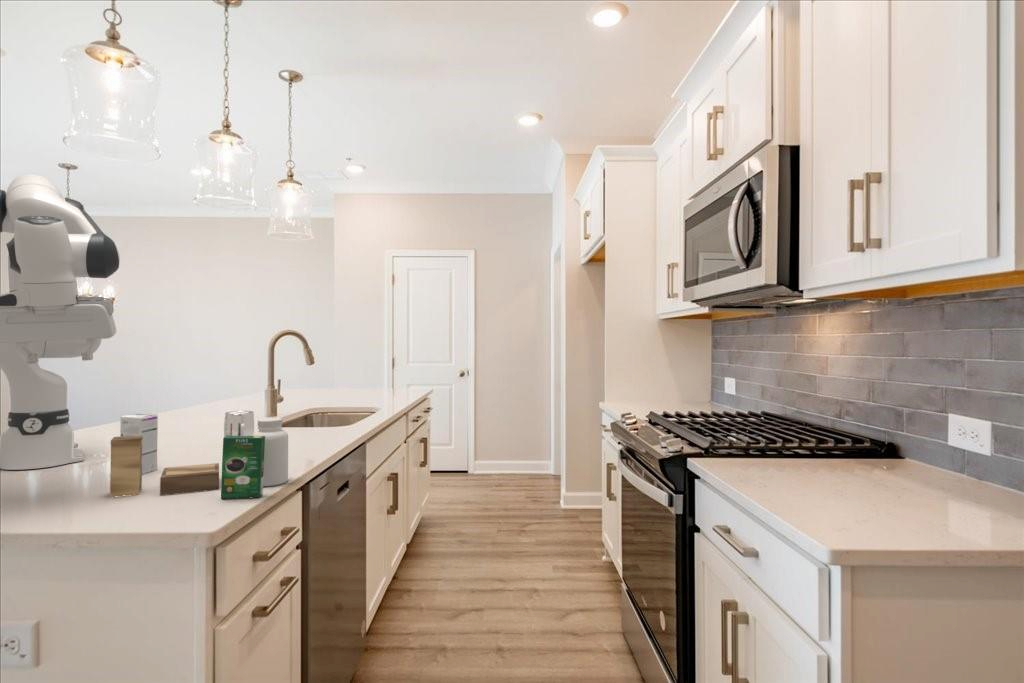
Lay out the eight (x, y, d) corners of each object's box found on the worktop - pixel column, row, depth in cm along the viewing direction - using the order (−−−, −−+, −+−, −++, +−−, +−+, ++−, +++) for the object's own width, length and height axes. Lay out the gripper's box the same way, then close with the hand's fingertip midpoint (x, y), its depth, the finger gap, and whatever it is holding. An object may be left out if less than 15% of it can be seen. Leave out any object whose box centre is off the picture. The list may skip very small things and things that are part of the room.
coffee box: (265, 494, 115) (266, 434, 115) (261, 498, 112) (262, 436, 112) (224, 496, 113) (225, 435, 113) (220, 500, 110) (221, 437, 110)
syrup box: (158, 469, 135) (159, 413, 135) (139, 475, 129) (140, 416, 129) (137, 469, 136) (138, 412, 136) (118, 474, 130) (119, 415, 130)
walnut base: (164, 484, 122) (164, 467, 122) (218, 478, 127) (218, 462, 127) (160, 495, 113) (160, 476, 113) (218, 489, 118) (219, 471, 118)
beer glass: (259, 469, 136) (260, 412, 136) (232, 475, 131) (233, 414, 131) (243, 466, 140) (244, 409, 140) (217, 471, 134) (218, 412, 134)
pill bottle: (252, 479, 127) (253, 417, 127) (288, 477, 129) (289, 416, 129) (248, 488, 119) (249, 422, 119) (287, 485, 122) (288, 421, 122)
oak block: (113, 492, 115) (114, 436, 115) (141, 489, 117) (142, 435, 117) (109, 497, 111) (110, 440, 111) (139, 494, 113) (140, 438, 113)
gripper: (116, 293, 116) (123, 355, 118) (-4, 296, 108) (7, 361, 111) (106, 296, 110) (115, 360, 112) (-21, 298, 102) (-9, 368, 105)
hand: (60, 361), depth 111 cm, fingers open, 8 cm apart
